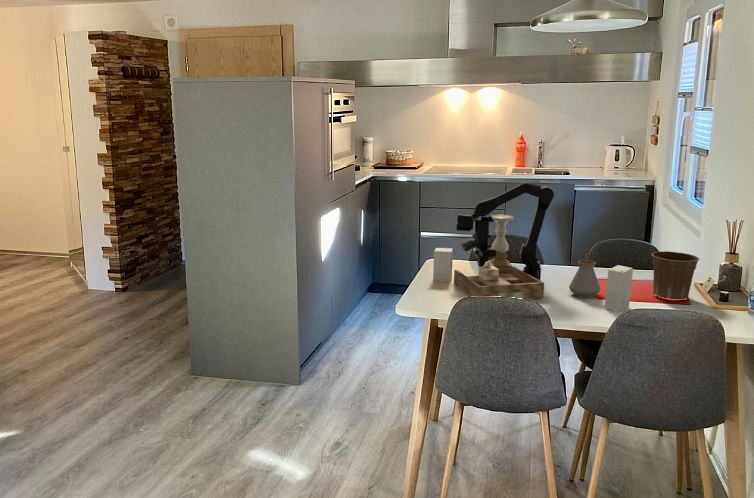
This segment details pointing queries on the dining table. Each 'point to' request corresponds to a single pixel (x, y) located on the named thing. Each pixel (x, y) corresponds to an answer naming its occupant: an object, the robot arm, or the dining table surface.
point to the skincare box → (618, 288)
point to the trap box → (501, 285)
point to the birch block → (488, 272)
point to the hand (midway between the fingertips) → (480, 269)
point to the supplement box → (443, 264)
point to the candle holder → (501, 245)
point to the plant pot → (673, 274)
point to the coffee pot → (585, 279)
